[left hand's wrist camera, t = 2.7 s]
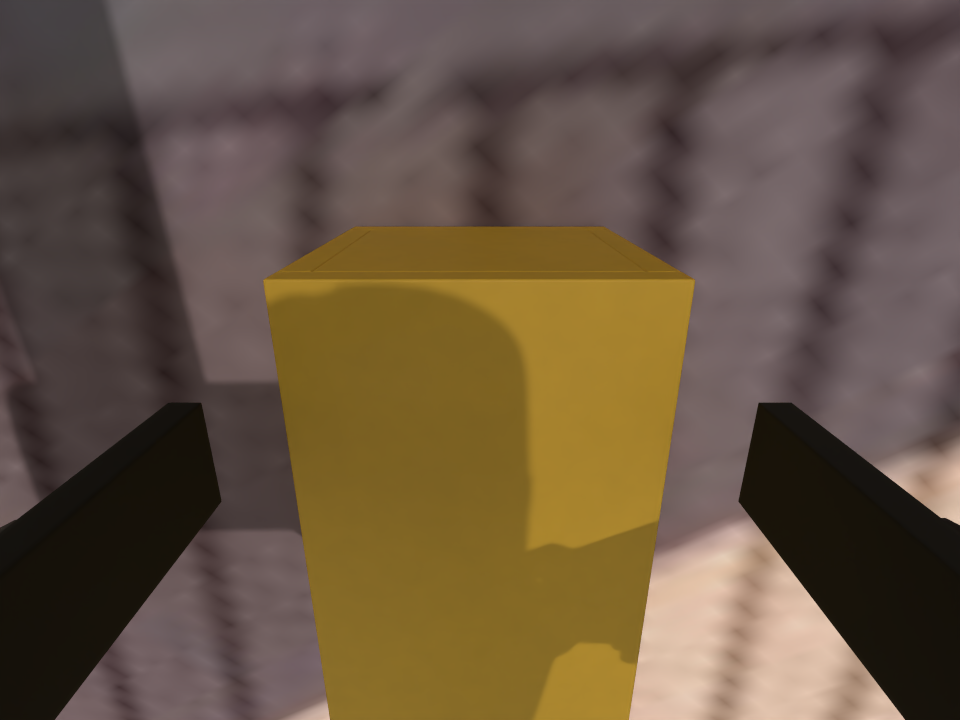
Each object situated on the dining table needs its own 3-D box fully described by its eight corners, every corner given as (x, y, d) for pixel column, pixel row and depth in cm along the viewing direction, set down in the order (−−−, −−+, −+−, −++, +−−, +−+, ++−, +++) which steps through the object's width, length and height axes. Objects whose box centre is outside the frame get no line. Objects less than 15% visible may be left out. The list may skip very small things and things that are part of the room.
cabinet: (575, 569, 27) (621, 769, 18) (383, 570, 27) (336, 769, 18) (605, 226, 21) (696, 279, 12) (353, 226, 21) (261, 279, 12)
